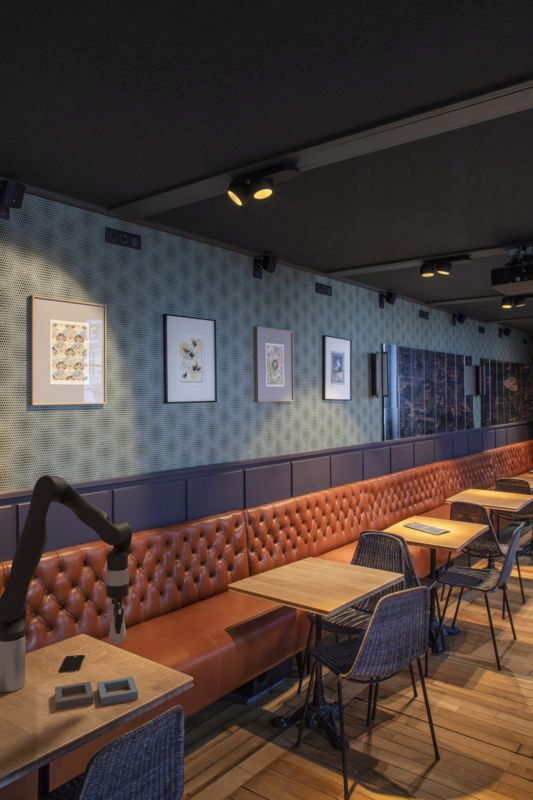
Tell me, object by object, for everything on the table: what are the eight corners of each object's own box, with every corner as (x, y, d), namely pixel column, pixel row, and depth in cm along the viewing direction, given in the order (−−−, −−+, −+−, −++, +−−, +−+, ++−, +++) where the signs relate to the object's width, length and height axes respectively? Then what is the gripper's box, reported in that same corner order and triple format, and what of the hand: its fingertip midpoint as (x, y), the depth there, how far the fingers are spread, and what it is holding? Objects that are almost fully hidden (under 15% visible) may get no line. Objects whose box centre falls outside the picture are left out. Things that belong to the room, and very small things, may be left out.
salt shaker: (105, 643, 197) (105, 604, 198) (116, 637, 202) (116, 599, 203) (118, 646, 195) (118, 607, 195) (129, 640, 200) (129, 602, 200)
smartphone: (85, 654, 231) (79, 670, 216) (85, 656, 231) (79, 672, 216) (65, 655, 230) (57, 671, 215) (65, 657, 230) (57, 673, 215)
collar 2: (100, 705, 190) (100, 697, 190) (97, 689, 201) (97, 682, 201) (138, 698, 194) (138, 691, 194) (132, 683, 206) (132, 676, 206)
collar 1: (55, 710, 187) (55, 702, 187) (54, 694, 198) (55, 687, 198) (93, 703, 191) (93, 696, 191) (90, 688, 202) (90, 681, 202)
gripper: (103, 577, 204) (103, 627, 204) (108, 588, 191) (108, 641, 191) (125, 575, 207) (125, 624, 206) (131, 586, 194) (131, 638, 193)
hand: (117, 632), depth 198 cm, fingers closed on salt shaker, 3 cm apart
